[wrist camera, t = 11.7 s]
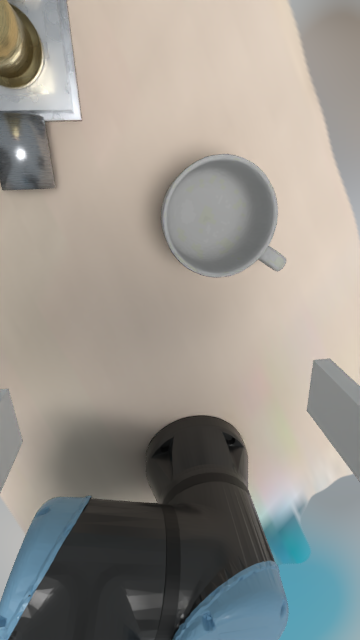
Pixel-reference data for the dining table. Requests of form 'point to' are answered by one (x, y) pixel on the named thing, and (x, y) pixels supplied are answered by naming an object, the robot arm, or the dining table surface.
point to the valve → (18, 48)
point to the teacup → (221, 217)
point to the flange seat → (38, 101)
